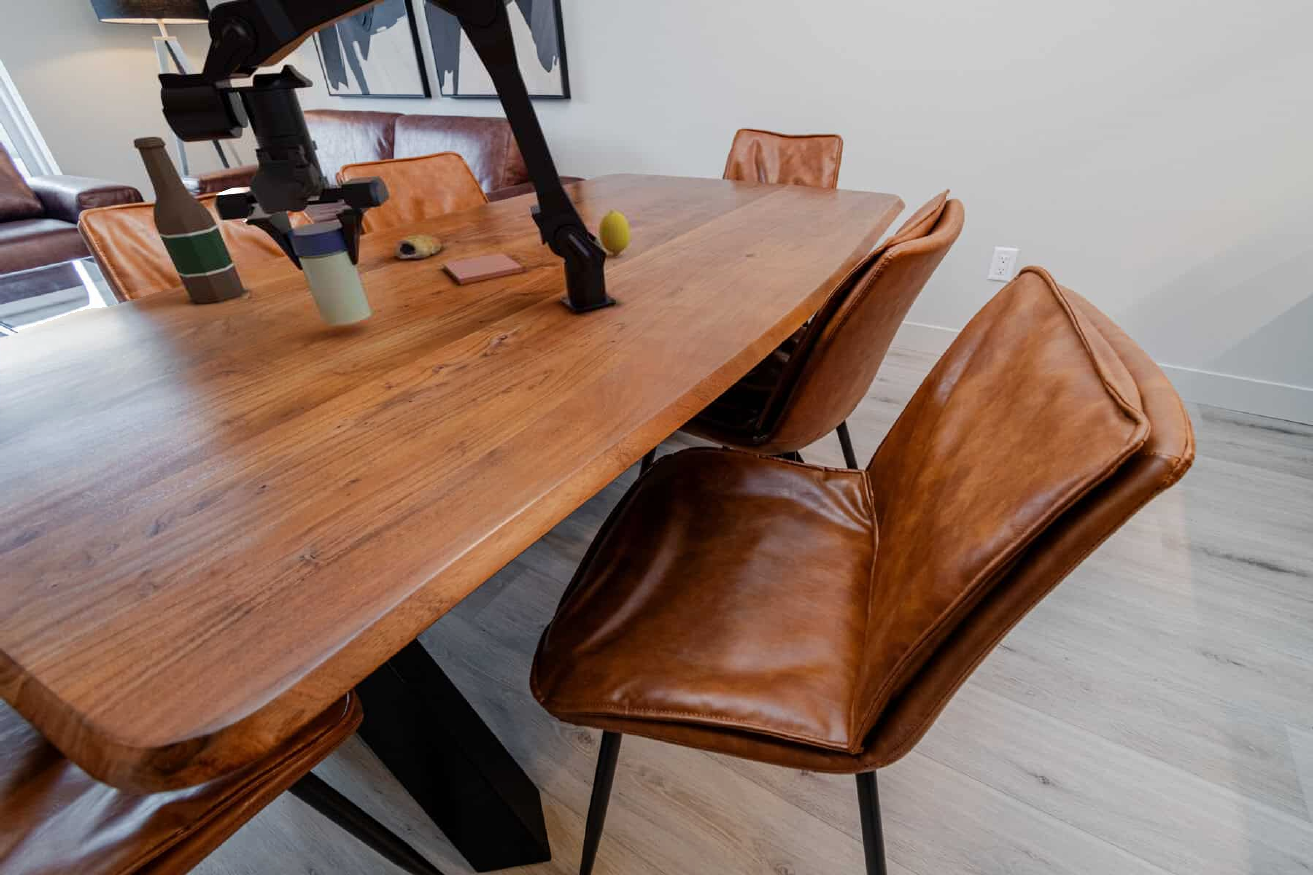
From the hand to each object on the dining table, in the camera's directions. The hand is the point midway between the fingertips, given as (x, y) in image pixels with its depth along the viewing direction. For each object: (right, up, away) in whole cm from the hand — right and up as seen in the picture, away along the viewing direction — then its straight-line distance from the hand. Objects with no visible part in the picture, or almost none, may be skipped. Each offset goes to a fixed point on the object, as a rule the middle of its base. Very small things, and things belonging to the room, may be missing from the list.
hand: (328, 266), depth 79 cm
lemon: (+36, +11, +32) cm, 49 cm away
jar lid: (0, +2, -1) cm, 2 cm away
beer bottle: (-30, +1, +22) cm, 38 cm away
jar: (0, -6, +4) cm, 7 cm away
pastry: (-3, +13, +39) cm, 41 cm away
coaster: (+12, +7, +27) cm, 31 cm away
